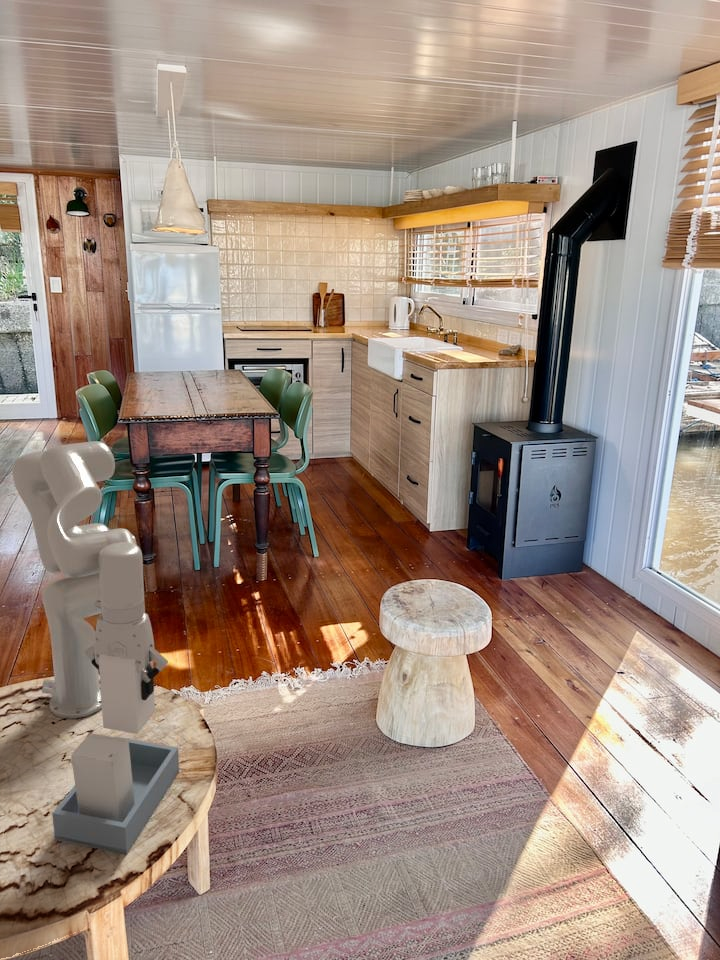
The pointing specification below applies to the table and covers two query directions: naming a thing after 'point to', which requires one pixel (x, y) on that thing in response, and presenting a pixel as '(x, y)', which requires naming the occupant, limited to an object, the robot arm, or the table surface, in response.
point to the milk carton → (123, 695)
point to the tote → (150, 783)
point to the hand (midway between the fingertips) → (128, 692)
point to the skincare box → (103, 777)
